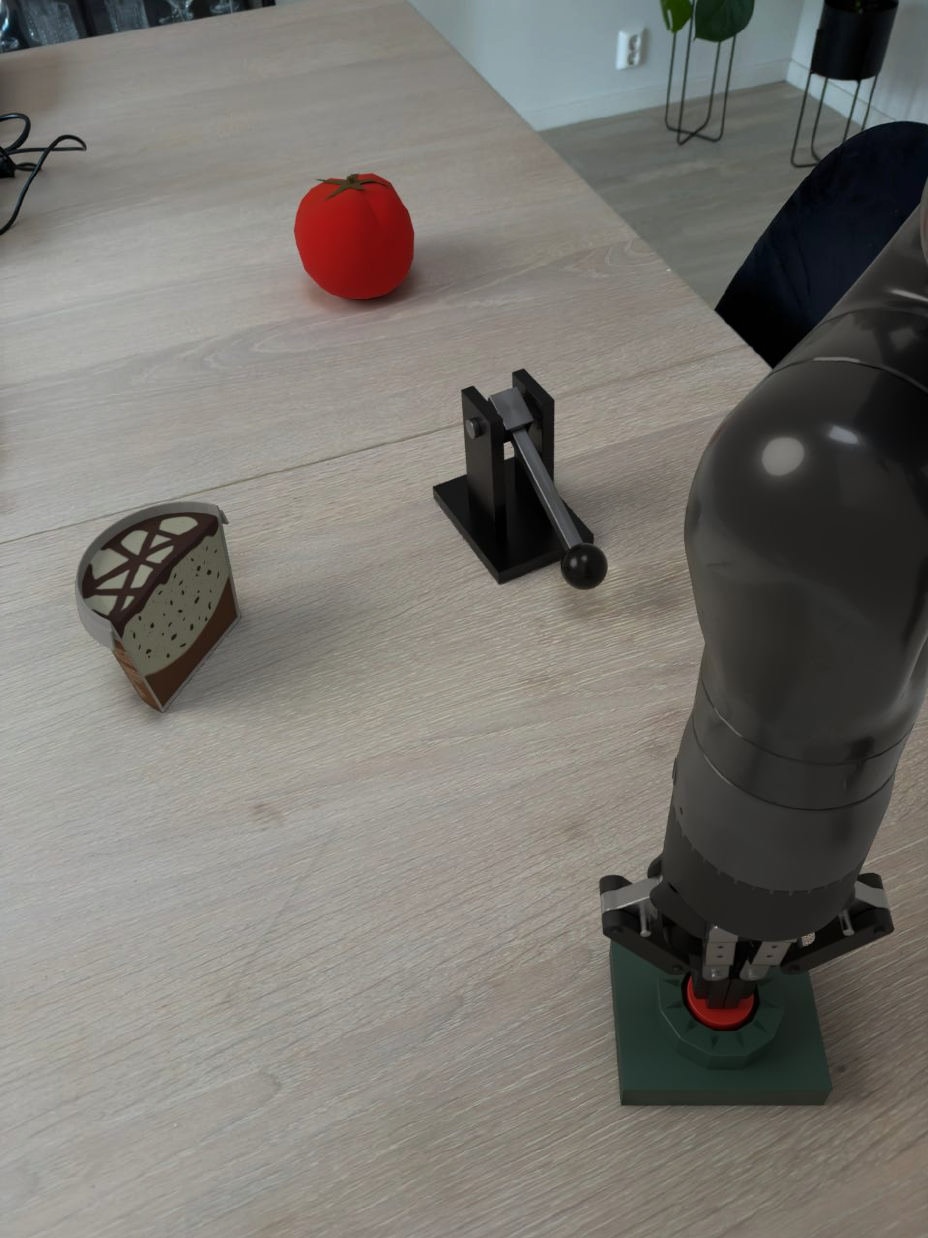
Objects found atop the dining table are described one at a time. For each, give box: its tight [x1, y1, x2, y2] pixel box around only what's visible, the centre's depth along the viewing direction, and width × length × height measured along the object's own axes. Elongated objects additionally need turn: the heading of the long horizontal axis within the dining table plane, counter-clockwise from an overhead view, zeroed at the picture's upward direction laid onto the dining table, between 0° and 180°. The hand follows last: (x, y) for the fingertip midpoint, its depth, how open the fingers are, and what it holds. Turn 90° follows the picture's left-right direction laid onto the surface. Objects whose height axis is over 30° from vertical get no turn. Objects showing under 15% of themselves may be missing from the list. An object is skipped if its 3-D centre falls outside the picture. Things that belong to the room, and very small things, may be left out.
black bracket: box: [432, 367, 595, 585], centre depth 79 cm, size 11×8×12 cm
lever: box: [486, 386, 609, 591], centre depth 75 cm, size 15×3×3 cm, turn 27°
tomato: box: [293, 172, 415, 300], centre depth 104 cm, size 12×12×11 cm
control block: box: [608, 937, 834, 1106], centre depth 55 cm, size 10×8×4 cm
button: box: [684, 977, 754, 1031], centre depth 54 cm, size 3×3×2 cm
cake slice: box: [74, 500, 242, 714], centre depth 73 cm, size 12×6×10 cm, turn 154°
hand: (718, 990), depth 54 cm, fingers closed
